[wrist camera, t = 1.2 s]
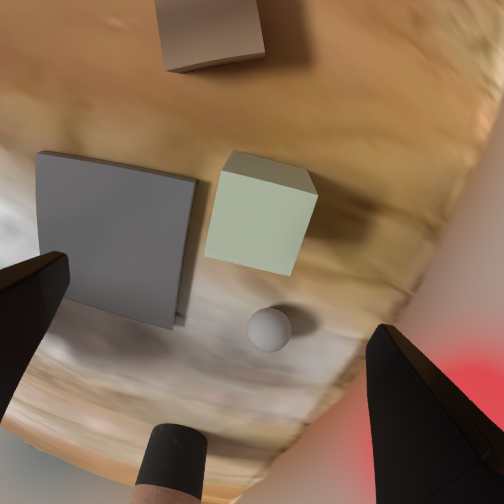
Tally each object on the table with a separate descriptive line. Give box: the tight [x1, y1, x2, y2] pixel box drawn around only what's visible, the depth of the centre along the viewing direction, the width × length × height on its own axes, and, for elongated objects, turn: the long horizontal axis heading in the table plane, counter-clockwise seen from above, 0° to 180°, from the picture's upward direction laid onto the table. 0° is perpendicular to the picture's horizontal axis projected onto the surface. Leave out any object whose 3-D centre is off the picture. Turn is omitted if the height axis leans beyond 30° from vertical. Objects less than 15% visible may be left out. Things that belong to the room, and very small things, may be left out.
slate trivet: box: [36, 151, 197, 330], centre depth 21 cm, size 12×12×1 cm
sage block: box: [204, 151, 318, 276], centre depth 17 cm, size 4×4×5 cm
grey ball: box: [247, 308, 291, 352], centre depth 23 cm, size 3×3×3 cm
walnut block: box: [155, 0, 266, 73], centre depth 14 cm, size 5×5×3 cm
